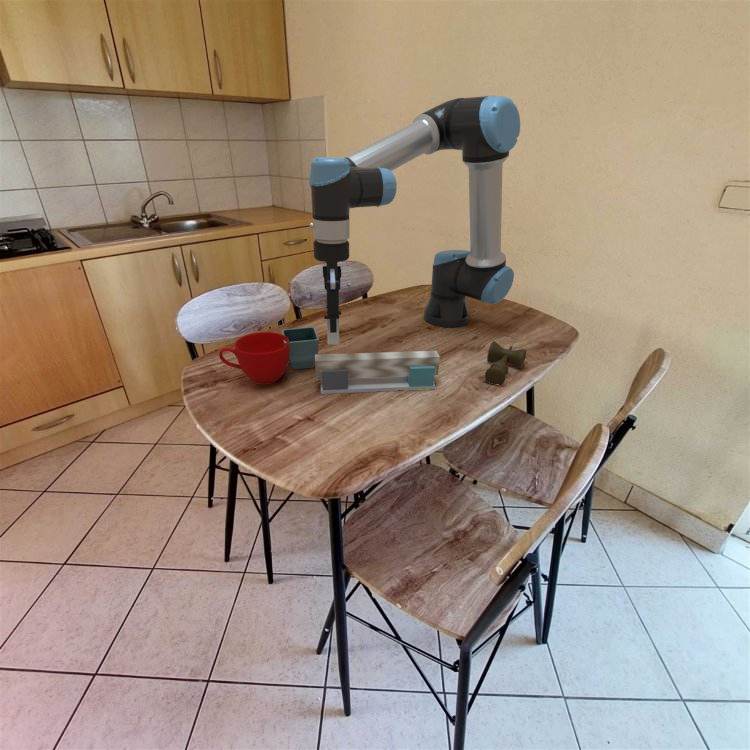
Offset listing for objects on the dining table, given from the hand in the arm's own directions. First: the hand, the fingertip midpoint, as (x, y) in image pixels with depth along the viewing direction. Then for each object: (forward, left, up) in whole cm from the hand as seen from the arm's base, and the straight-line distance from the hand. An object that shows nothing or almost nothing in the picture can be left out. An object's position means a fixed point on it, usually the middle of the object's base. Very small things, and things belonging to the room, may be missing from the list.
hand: (333, 343), depth 102 cm
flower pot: (+8, -12, -12) cm, 19 cm away
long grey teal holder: (-11, 0, -12) cm, 16 cm away
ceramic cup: (+19, -5, -12) cm, 23 cm away
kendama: (-45, -6, -12) cm, 47 cm away
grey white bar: (-11, 0, -9) cm, 14 cm away
